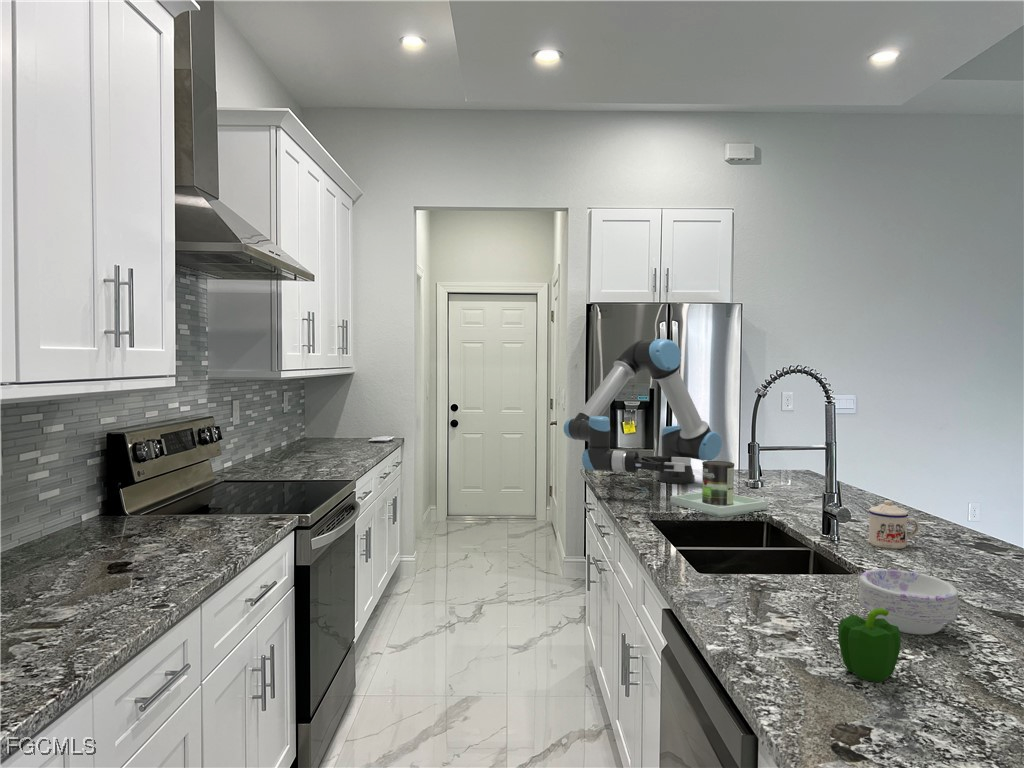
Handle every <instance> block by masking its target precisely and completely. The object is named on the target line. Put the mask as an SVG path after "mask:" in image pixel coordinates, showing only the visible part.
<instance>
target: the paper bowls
mask: <svg viewBox="0 0 1024 768" xmlns="http://www.w3.org/2000/svg"><path fill="white" fill-rule="evenodd" d="M858 584H859V591H858V594H859V596H858V599H859V600H858V601H859V604H860V605H861V606H862V607H863V608H864V609H865V610H867V611H868V612H871V611H873V610H874V609H880V608H882V609H886V610H888V611H889V613H888V615H887V616H884V615H878V616H877V617H876V618H882V619H885V620H886V621H887V622H888V623H889V624H891V625H894V626H898V628H899V630H900V633H904V634H910V635H924V636H926V635H927V636H928V635H933V634H936V633H938V632H940V631H941V630H942V628H943V627H944V625H946V624H950V623H953V622H955V621H956V620H957V619H958V616H959V591H958V589H957V588H956V587H955V586H954V585H952V584H951V583H949V582H948V581H945V580H943V579H940V578H938V577H934V576H931V575H927V574H923V573H920V572H919V573H918V572H914V571H908V570H907V571H906V570H901V569H900V570H898V569H873V570H872V569H870V570H867V571H864V572H862V573H861V574H860V576H859V583H858Z"/></svg>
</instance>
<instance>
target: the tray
mask: <svg viewBox="0 0 1024 768" xmlns="http://www.w3.org/2000/svg"><path fill="white" fill-rule="evenodd" d="M669 499H670V500H669V505H670V504H672V505H671V506H673V505H676V506H681V507H686V508H690V509H695V510H698V511H702V512H703V513H702V514H705V515H709V516H712V517H716V518H717V517H718V518H727V517H735V516H740V515H746V514H747V515H748V514H750V513H749V512H753V513H755V512H754V511H760V512H762V511H761V510H766V511H768V503H769V502H768V501H767V500H763V499H759V498H753V497H748V496H744V495H739V494H735V493H734V495H733V504H734V505H732V506H725V507H718V506H713V505H709V504H705V503H702V491H700V492H694V493H686V494H685V493H684V494H675V495H670V498H669ZM676 506H675V507H676Z"/></svg>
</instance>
